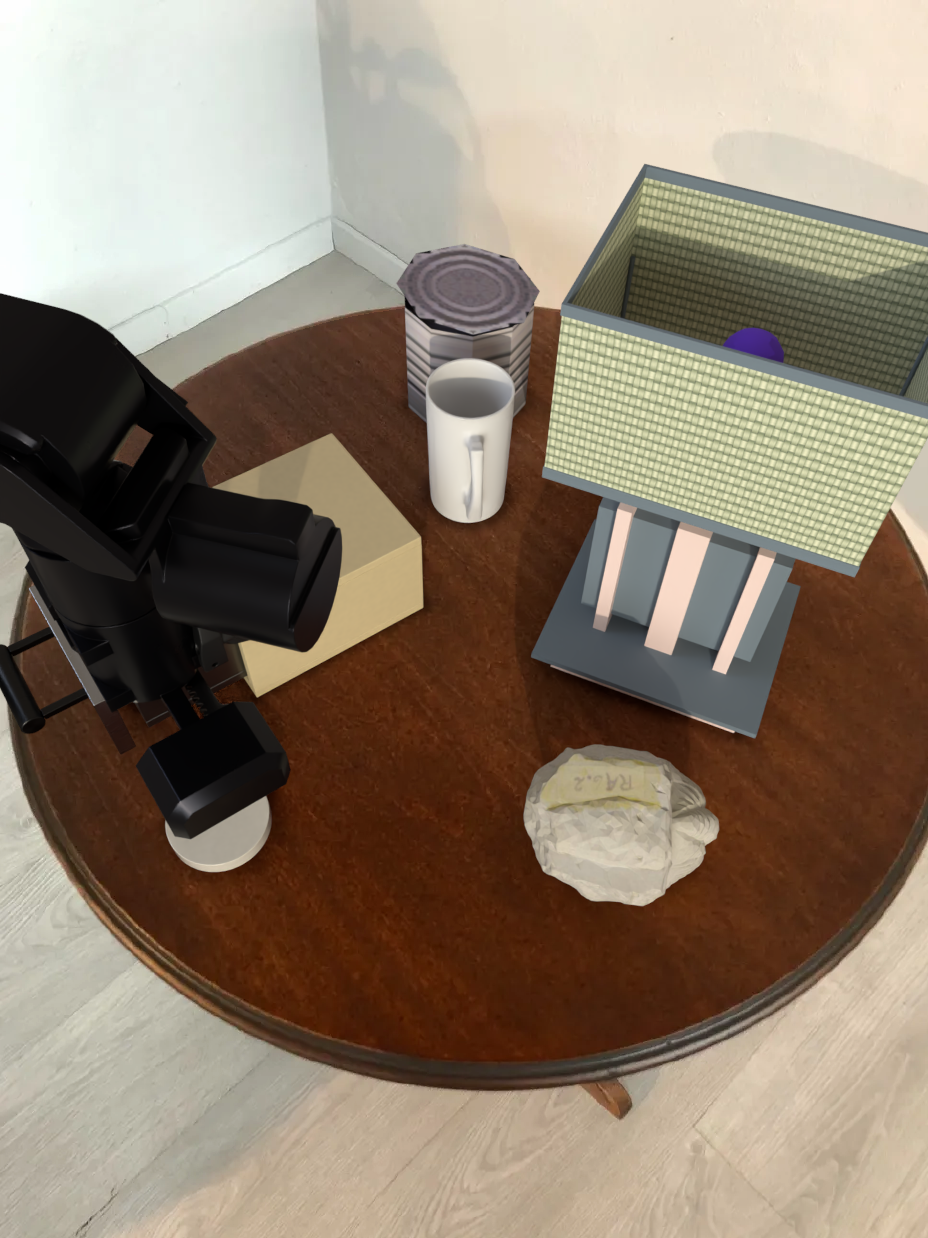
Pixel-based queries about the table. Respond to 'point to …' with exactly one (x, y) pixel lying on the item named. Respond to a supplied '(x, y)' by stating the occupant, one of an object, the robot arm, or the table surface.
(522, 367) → the can
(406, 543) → the tan cardboard box
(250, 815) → the cylinder
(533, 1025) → the table surface
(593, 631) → the desk lamp
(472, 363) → the mug
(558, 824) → the fossil replica
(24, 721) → the drawer
